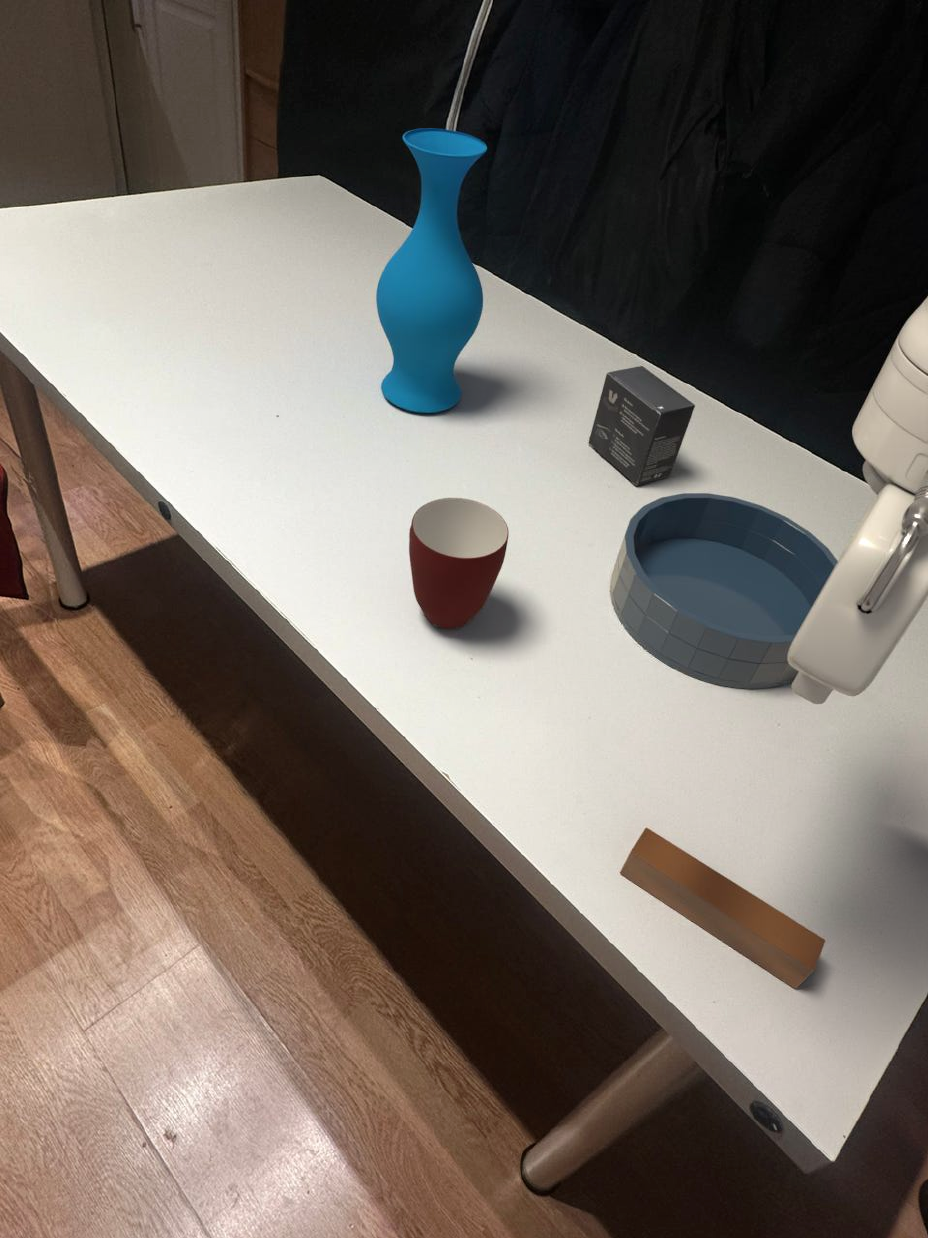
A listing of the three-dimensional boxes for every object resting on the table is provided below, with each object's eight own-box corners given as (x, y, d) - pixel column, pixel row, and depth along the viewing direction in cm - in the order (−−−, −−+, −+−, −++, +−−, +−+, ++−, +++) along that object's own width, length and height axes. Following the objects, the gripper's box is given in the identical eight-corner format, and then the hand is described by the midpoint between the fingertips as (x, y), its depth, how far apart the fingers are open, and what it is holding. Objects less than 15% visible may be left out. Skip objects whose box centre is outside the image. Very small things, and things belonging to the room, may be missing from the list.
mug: (368, 589, 75) (372, 501, 68) (435, 558, 79) (446, 472, 72) (441, 660, 70) (455, 572, 63) (509, 622, 74) (529, 536, 67)
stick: (806, 959, 55) (826, 939, 53) (795, 990, 53) (814, 971, 51) (634, 848, 59) (646, 826, 57) (619, 873, 58) (630, 851, 55)
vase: (473, 377, 106) (508, 134, 86) (464, 428, 97) (500, 169, 77) (381, 362, 106) (395, 115, 86) (363, 412, 97) (374, 148, 77)
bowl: (847, 602, 82) (875, 557, 78) (780, 727, 69) (810, 681, 65) (663, 514, 89) (680, 468, 85) (571, 612, 76) (585, 563, 72)
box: (672, 477, 95) (698, 404, 88) (635, 487, 92) (659, 413, 86) (622, 435, 100) (643, 363, 93) (586, 444, 98) (605, 370, 91)
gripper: (1002, 572, 29) (835, 793, 39) (1067, 379, 42) (930, 581, 52) (829, 497, 31) (712, 724, 41) (942, 336, 44) (833, 537, 54)
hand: (834, 643), depth 46 cm, fingers open, 8 cm apart
